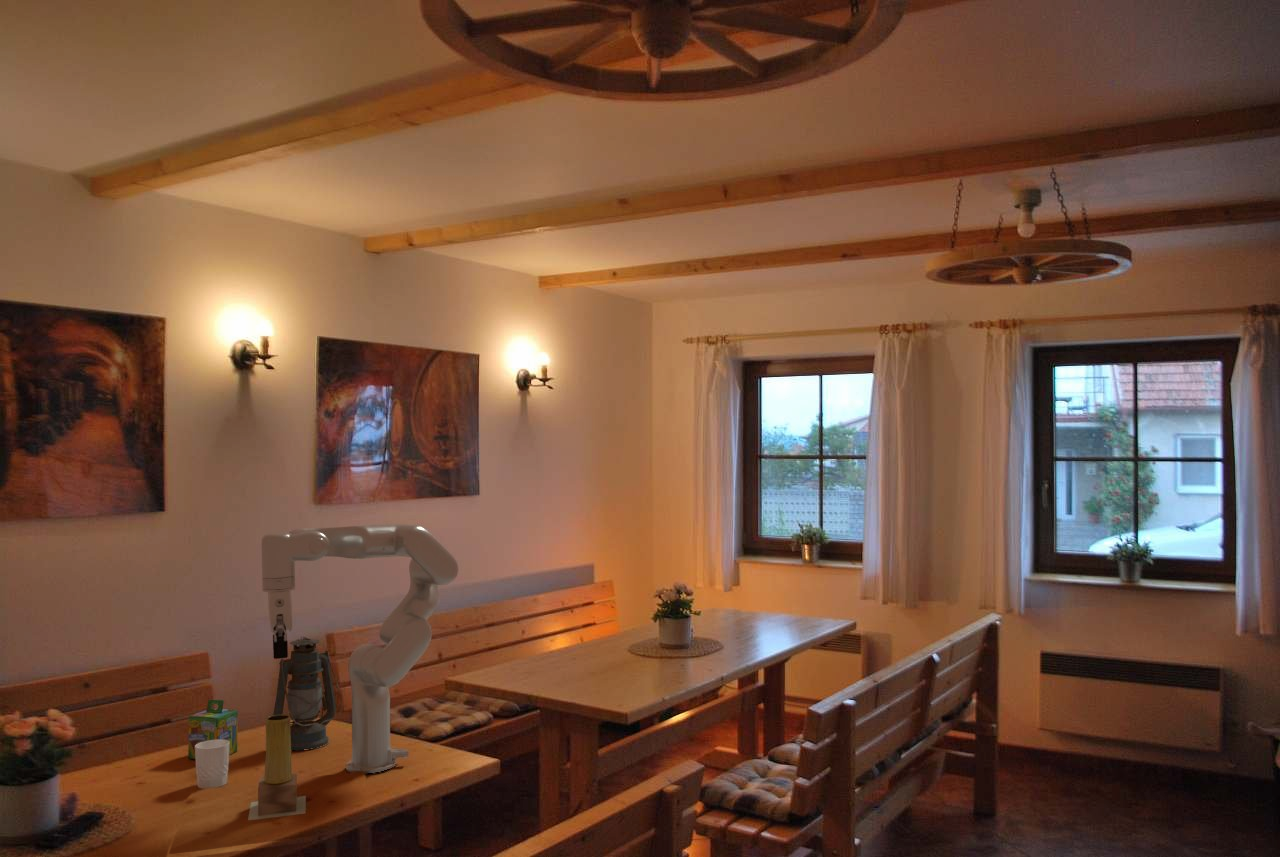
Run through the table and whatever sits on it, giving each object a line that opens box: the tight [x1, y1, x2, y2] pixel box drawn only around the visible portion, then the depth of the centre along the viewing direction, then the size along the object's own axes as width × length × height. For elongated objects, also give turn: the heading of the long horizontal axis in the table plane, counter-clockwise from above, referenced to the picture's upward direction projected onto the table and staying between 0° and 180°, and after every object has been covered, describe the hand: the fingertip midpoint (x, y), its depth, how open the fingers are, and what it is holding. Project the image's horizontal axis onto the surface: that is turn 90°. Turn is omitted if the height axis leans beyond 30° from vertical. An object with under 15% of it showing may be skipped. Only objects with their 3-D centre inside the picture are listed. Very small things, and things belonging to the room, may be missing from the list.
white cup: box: [194, 739, 230, 790], centre depth 243 cm, size 8×8×10 cm
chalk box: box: [187, 699, 239, 760], centre depth 267 cm, size 9×9×15 cm
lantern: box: [272, 636, 343, 750], centre depth 276 cm, size 19×14×30 cm
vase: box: [263, 714, 293, 784], centre depth 225 cm, size 6×6×14 cm
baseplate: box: [247, 795, 307, 821], centre depth 224 cm, size 12×12×1 cm
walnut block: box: [257, 773, 298, 816], centre depth 224 cm, size 8×8×6 cm
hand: (280, 654), depth 240 cm, fingers open, 9 cm apart
